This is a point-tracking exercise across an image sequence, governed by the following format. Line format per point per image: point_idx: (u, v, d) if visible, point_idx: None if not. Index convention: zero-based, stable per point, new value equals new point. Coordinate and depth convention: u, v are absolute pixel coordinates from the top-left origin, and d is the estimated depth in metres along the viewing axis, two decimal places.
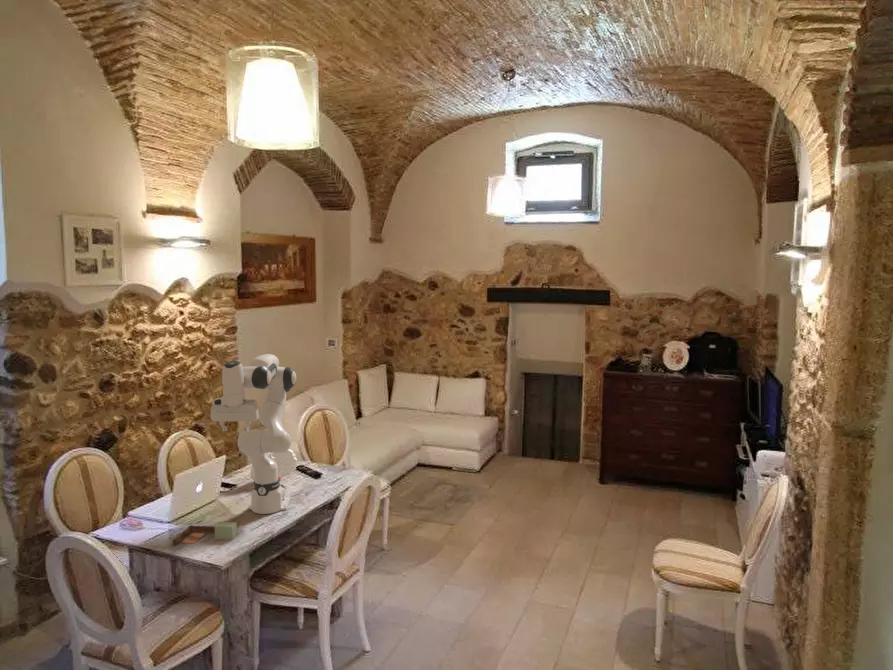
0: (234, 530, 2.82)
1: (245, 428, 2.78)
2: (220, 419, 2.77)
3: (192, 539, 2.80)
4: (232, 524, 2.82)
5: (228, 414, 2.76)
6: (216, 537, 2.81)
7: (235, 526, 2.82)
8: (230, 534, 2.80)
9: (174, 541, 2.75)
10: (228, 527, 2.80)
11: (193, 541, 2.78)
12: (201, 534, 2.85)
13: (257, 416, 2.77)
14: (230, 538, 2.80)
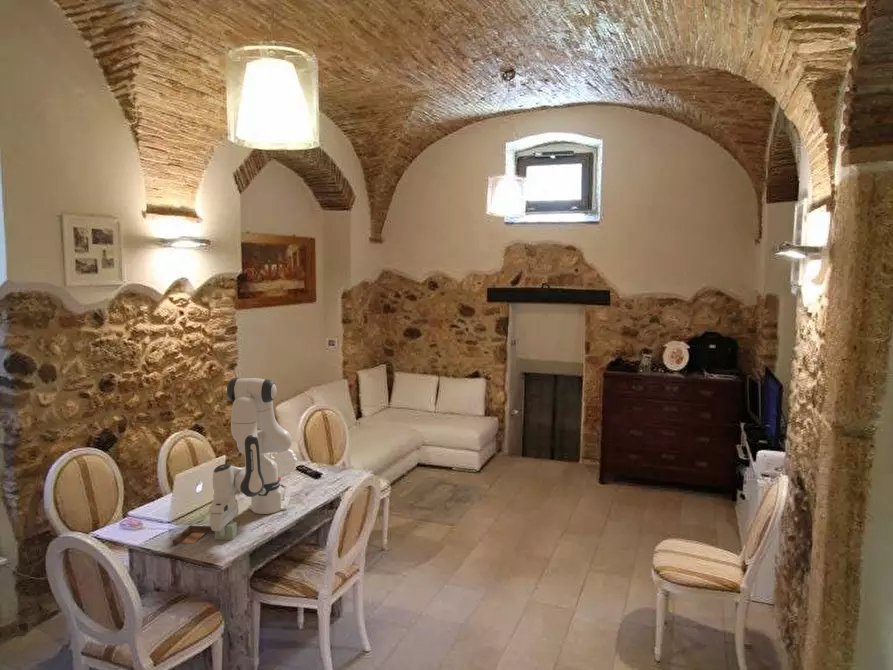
0: (234, 530, 2.82)
1: None
2: (223, 525, 2.76)
3: (192, 539, 2.80)
4: (232, 523, 2.82)
5: (227, 517, 2.79)
6: (216, 537, 2.81)
7: (235, 526, 2.82)
8: (230, 534, 2.80)
9: (174, 541, 2.75)
10: (228, 527, 2.80)
11: (193, 541, 2.78)
12: (201, 534, 2.85)
13: None
14: (230, 538, 2.80)
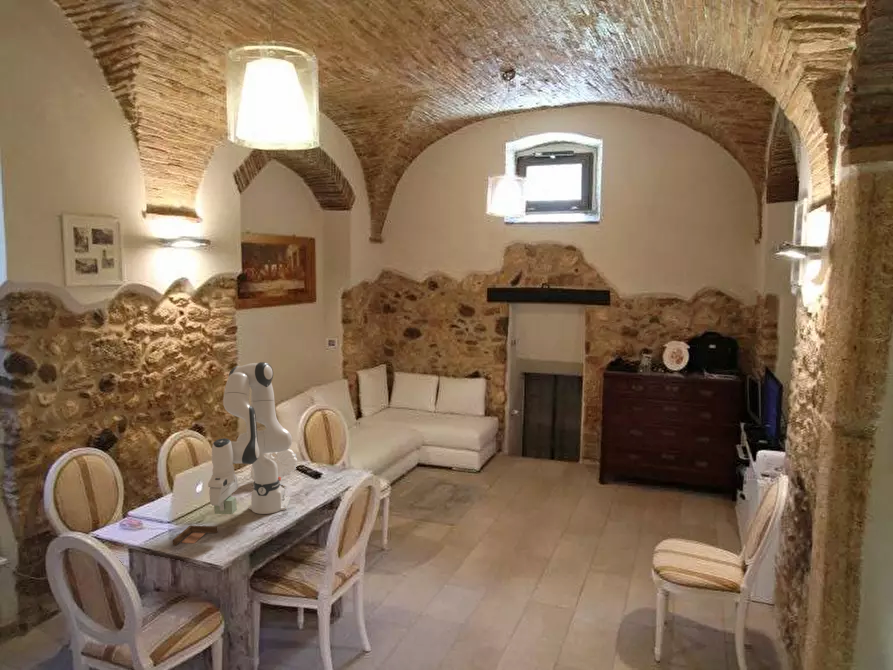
0: (233, 504, 2.81)
1: None
2: (223, 500, 2.75)
3: (192, 539, 2.80)
4: (232, 498, 2.81)
5: (226, 492, 2.78)
6: (215, 511, 2.80)
7: (234, 501, 2.82)
8: (229, 508, 2.79)
9: (174, 541, 2.75)
10: (227, 501, 2.79)
11: (193, 541, 2.78)
12: (201, 534, 2.85)
13: None
14: (229, 512, 2.79)
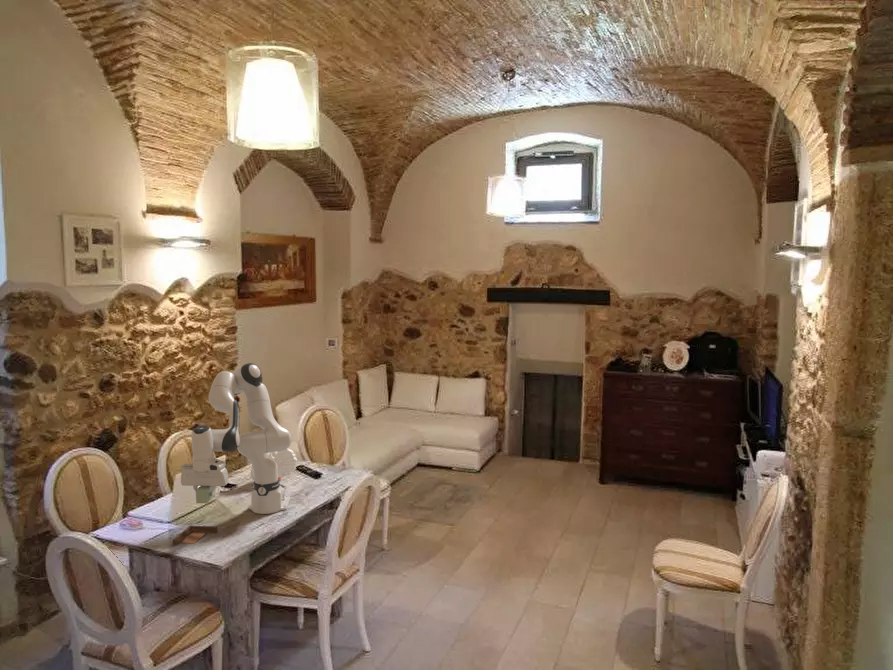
0: None
1: None
2: None
3: (192, 539, 2.80)
4: None
5: None
6: (207, 500, 2.77)
7: None
8: None
9: (174, 541, 2.75)
10: None
11: (193, 541, 2.78)
12: (201, 534, 2.85)
13: None
14: (213, 496, 2.83)
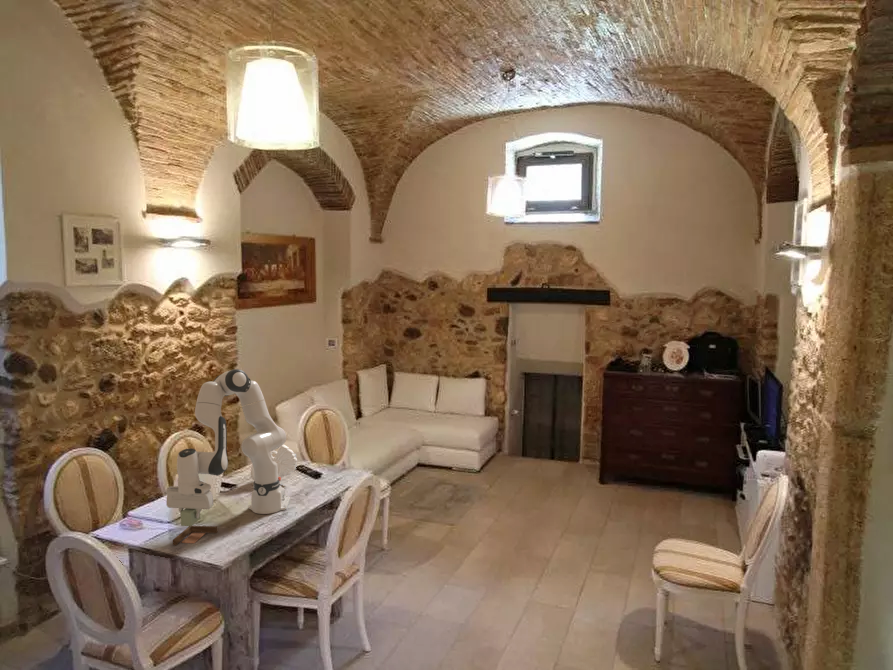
0: None
1: None
2: None
3: (192, 539, 2.80)
4: None
5: None
6: (191, 523, 2.78)
7: None
8: None
9: (174, 541, 2.75)
10: None
11: (193, 541, 2.78)
12: (201, 534, 2.85)
13: None
14: (199, 518, 2.84)
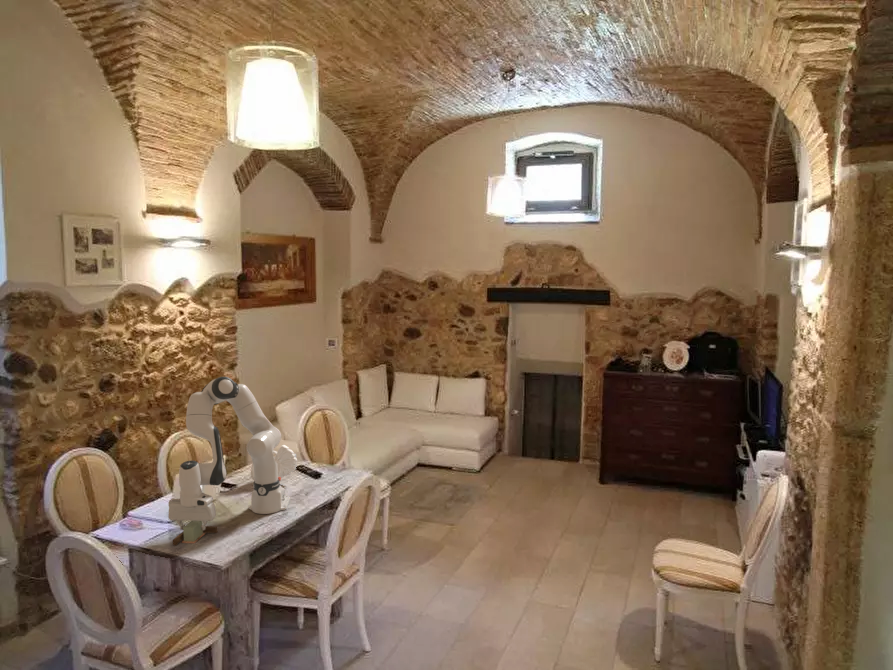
0: None
1: None
2: None
3: None
4: (195, 521, 2.84)
5: None
6: (194, 539, 2.78)
7: None
8: None
9: (174, 541, 2.75)
10: (200, 523, 2.83)
11: None
12: None
13: None
14: (201, 533, 2.85)
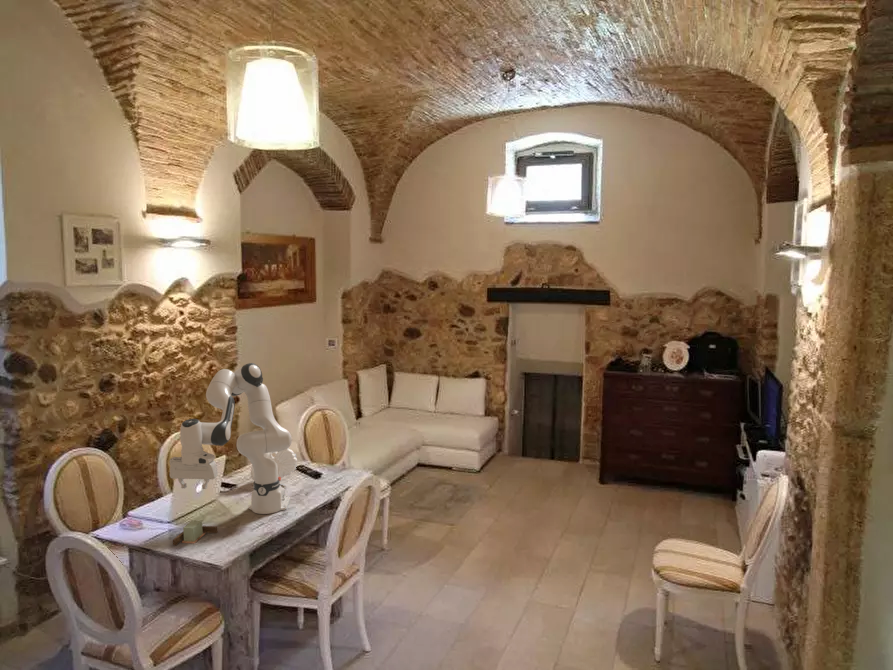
0: None
1: None
2: None
3: None
4: (195, 521, 2.84)
5: None
6: (194, 539, 2.78)
7: None
8: (201, 529, 2.84)
9: (174, 541, 2.75)
10: (200, 523, 2.83)
11: None
12: None
13: None
14: (201, 533, 2.85)
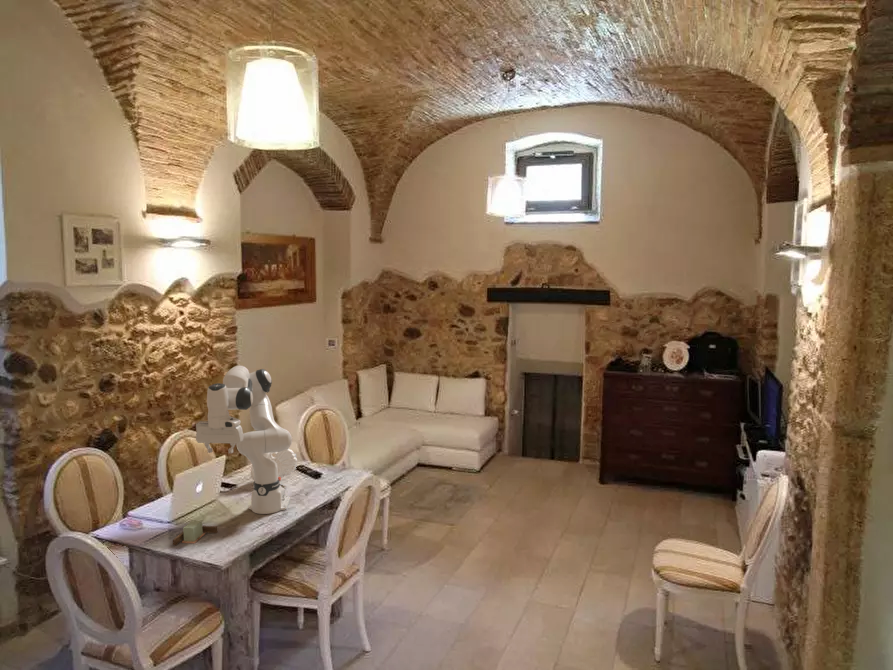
0: None
1: None
2: None
3: None
4: (195, 521, 2.84)
5: None
6: (194, 539, 2.78)
7: None
8: (201, 529, 2.84)
9: (174, 541, 2.75)
10: (200, 523, 2.83)
11: None
12: None
13: None
14: (201, 533, 2.85)
